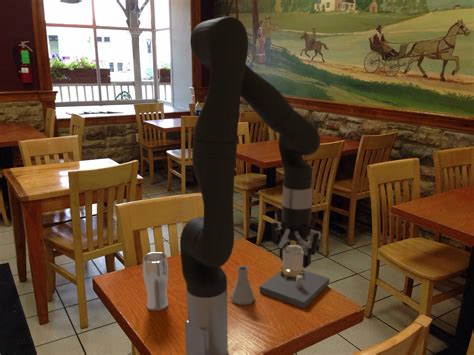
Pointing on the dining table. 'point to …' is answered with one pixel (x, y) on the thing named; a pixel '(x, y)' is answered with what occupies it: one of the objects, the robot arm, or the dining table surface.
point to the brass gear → (290, 273)
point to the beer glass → (156, 280)
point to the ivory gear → (293, 257)
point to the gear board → (295, 288)
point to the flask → (242, 288)
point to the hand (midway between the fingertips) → (294, 263)
